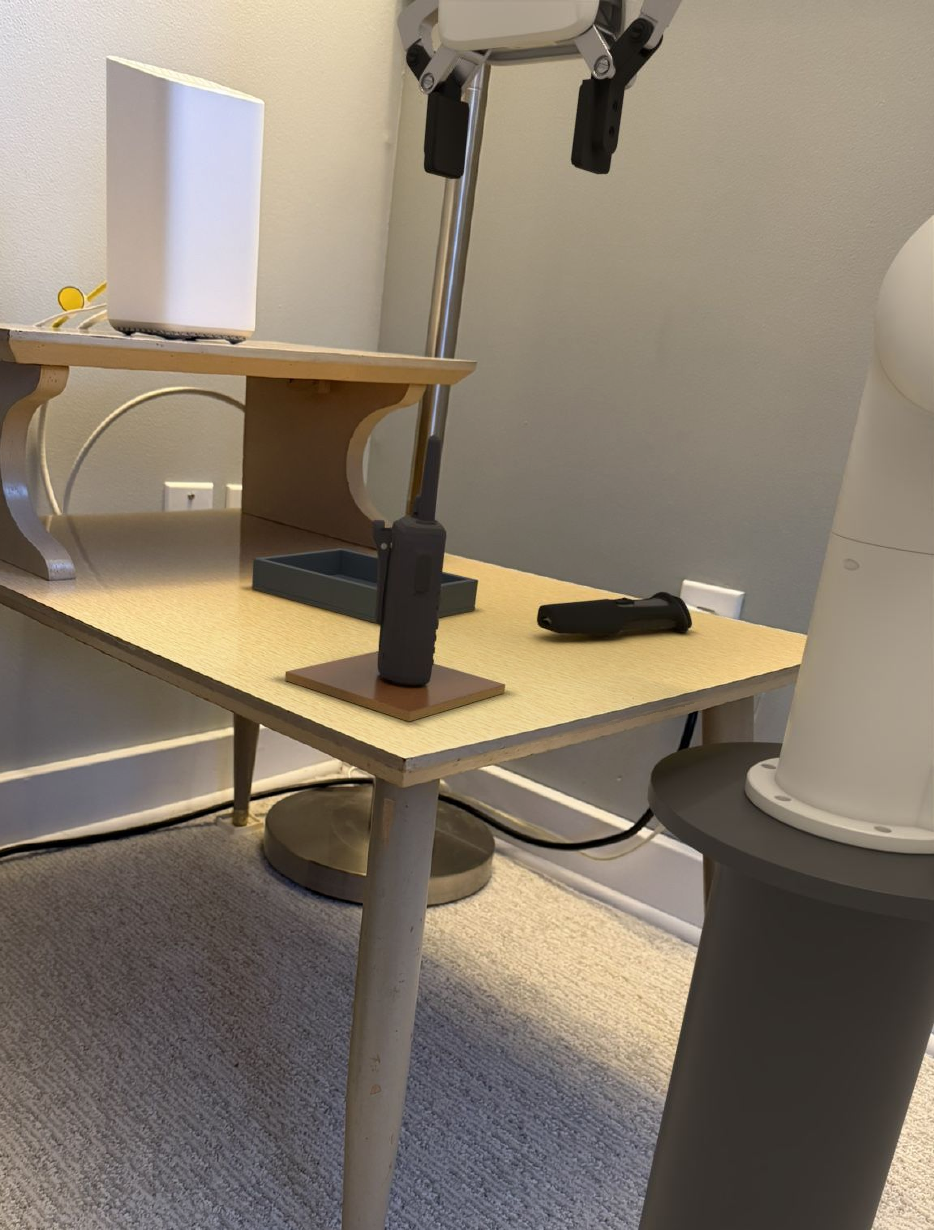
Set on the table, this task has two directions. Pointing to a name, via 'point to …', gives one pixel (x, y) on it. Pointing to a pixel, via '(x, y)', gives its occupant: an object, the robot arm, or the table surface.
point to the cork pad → (394, 687)
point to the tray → (345, 582)
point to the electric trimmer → (615, 615)
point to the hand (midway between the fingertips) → (513, 172)
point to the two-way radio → (411, 583)
